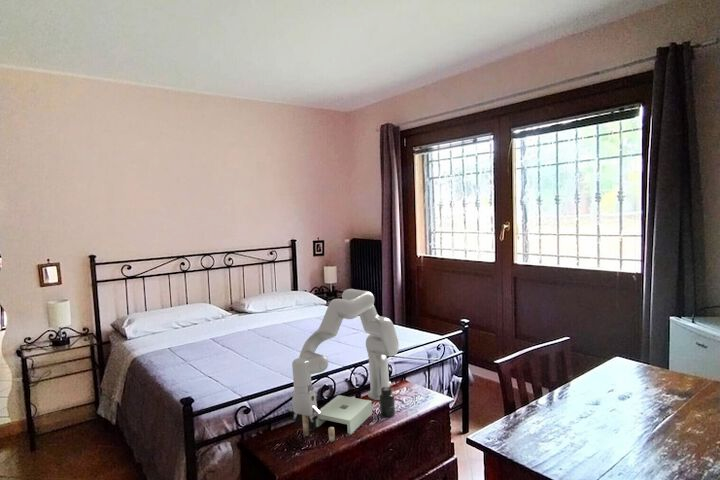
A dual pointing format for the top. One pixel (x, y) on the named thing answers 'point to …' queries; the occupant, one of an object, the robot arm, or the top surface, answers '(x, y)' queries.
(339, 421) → the plate
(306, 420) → the long birch pin
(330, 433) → the short birch pin
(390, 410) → the supplement bottle
